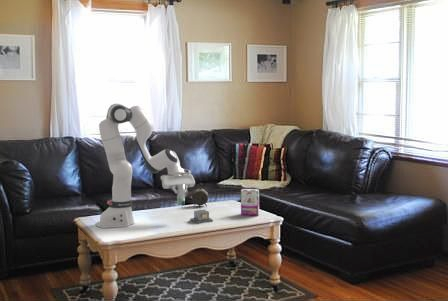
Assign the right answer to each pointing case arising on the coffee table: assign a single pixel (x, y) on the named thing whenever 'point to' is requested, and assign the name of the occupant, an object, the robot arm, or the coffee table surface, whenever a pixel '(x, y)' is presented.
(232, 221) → the coffee table surface
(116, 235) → the coffee table surface
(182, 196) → the column
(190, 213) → the coffee table surface
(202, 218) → the stand
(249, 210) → the candy bar box
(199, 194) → the alarm clock
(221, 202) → the coffee table surface
